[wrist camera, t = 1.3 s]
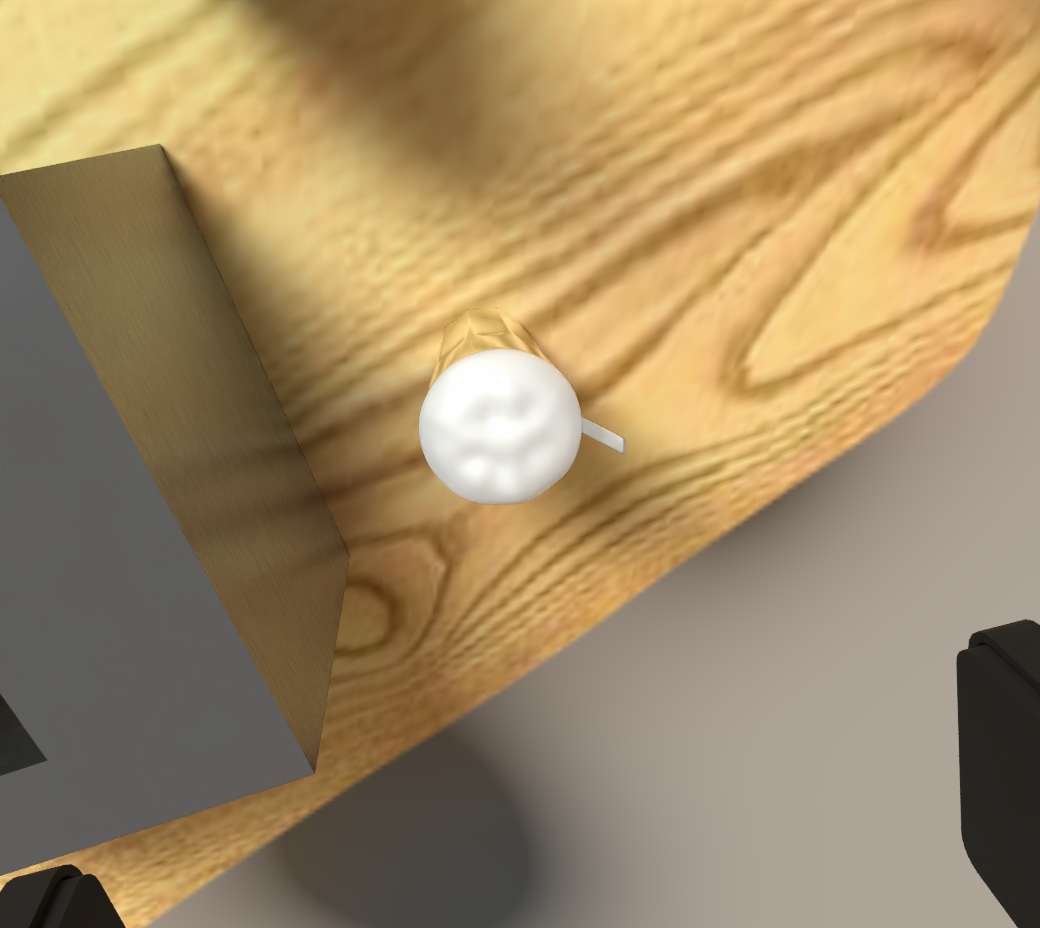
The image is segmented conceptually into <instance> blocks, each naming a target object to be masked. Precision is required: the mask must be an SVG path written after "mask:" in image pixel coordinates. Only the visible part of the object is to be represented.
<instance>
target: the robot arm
mask: <svg viewBox="0 0 1040 928" xmlns="http://www.w3.org/2000/svg"><path fill="white" fill-rule="evenodd" d="M957 696H958V728H959V729H958V730H959V763H960V796H961V797H960V799H961V832H962V840H963V843H964V847H965V849H966V852H967V855H968V857H969V858H970V861H971V863H972V865H973V866H974V868H975V869H976V871H977V873H978V874H979V875H980V877H981V878H982V879H983V881H984V882H985V883H986V885H987V886H988V887H989V889H990V890H991V892H992V893H993V894H994V896H995V897H996V898H997V900H998V901H999V903H1000V904H1001V905H1002V907H1003V908H1004V909H1005V911H1006V912H1007V913H1008V915H1009V916H1010V918H1011V919H1012V920H1013V921H1014V923H1015V924H1016V926H1017V927H1018V928H1040V625H1039V624H1037V623H1035V622H1034V621H1031V620H1026V619H1025V620H1022V621H1017V622H1013V623H1010V624H1006V625H1002V626H998V627H994V628H990V629H986V630H982V631H978V632H976V633H974V634H972V636H971V638H970V639H969V647H968V649H966V650H962V651H960V652H959V653H958V655H957ZM0 928H126V927H125V926H124V924H123V922H122V920H121V919H120V917H119V915H118V913H117V912H116V910H115V908H114V906H113V904H112V903H111V901H110V899H109V897H108V896H107V894H106V892H105V890H104V889H103V887H102V885H101V883H100V882H99V880H98V879H97V878H96V877H95V876H94V875H92V874H86V875H83V874H82V873H81V871H80V870H79V869H78V868H77V867H75V866H73V865H71V864H70V865H62V866H58V867H54V868H51V869H47V870H43V871H39V872H35V873H31V874H27V875H23V876H19V877H15V878H13V879H12V880H10V881H9V882H7V883H6V884H5V886H4V887H3V889H2V890H1V891H0Z"/></svg>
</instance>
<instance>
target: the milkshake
mask: <svg viewBox="0 0 1040 928" xmlns="http://www.w3.org/2000/svg"><path fill="white" fill-rule="evenodd" d="M582 433H584V434H586V435H588V436H590V437H592V438H593V439H595V440H597V441H599V442H601V443H603V444H604V445H606V446H608V447H610V448H612V449H614V450H615V451H617V452H619V453H621V454H625V439H624V438H622V437H621V436H619V435H617V434H615V433H613V432H611V431H609V430H607V429H605V428H603V427H602V426H600V425H598V424H596V423H594V422H592V421H590V420H588V419H586V418H584V417H582V416H581V410H580V406H579V402H578V399H577V396H576V394H575V392H574V390H573V388H572V386H571V385H570V383H569V382H568V380H567V379H566V378H565V377H564V376H563V375H562V374H561V373H560V372H559V370H558V369H557V368H556V367H555V366H554V365H553V364H552V363H551V362H550V361H549V360H548V359H547V358H546V357H545V355H544V354H543V353H542V351H541V350H540V349H539V347H538V346H537V345H536V343H535V342H534V341H533V339H532V338H531V337H530V336H529V334H528V333H527V332H526V330H525V329H524V328H523V326H522V325H521V324H520V323H519V322H517V321H515V320H514V319H512V318H511V317H509V316H507V315H506V314H504V313H503V312H501V311H500V310H498V309H497V308H491V309H474V310H467V311H465V312H464V313H463V314H462V315H461V316H459V317H458V318H457V319H456V320H454V321H453V322H452V323H451V324H449V325H448V326H447V327H446V328H445V330H444V334H443V338H442V342H441V346H440V350H439V354H438V358H437V363H436V367H435V371H434V374H433V376H432V379H431V382H430V384H429V387H428V390H427V393H426V396H425V399H424V403H423V405H422V408H421V412H420V419H419V435H420V442H421V446H422V450H423V453H424V456H425V458H426V460H427V462H428V464H429V466H430V468H431V469H432V471H433V472H434V473H435V475H436V476H437V477H438V478H439V479H440V480H441V481H442V482H443V483H444V484H445V485H446V486H447V487H448V488H449V489H450V490H451V491H452V492H454V493H455V494H457V495H458V496H460V497H462V498H464V499H466V500H468V501H471V502H475V503H479V504H486V505H506V504H519V503H524V502H527V501H530V500H532V499H534V498H536V497H537V496H539V495H540V494H542V493H543V492H544V491H546V490H547V489H548V488H550V487H551V486H552V485H553V484H555V483H556V482H557V481H558V480H560V479H561V478H562V477H563V476H564V475H565V474H566V473H567V471H568V470H569V469H570V467H571V466H572V464H573V462H574V460H575V458H576V455H577V453H578V449H579V446H580V441H581V434H582Z"/></svg>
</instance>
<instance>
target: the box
mask: <svg viewBox="0 0 1040 928" xmlns="http://www.w3.org/2000/svg"><path fill="white" fill-rule="evenodd" d="M349 559H350V555H349V553H348V551H347V549H346V547H345V544H344V542H343V540H342V538H341V536H340V534H339V531H338V529H337V527H336V525H335V523H334V521H333V518H332V516H331V514H330V512H329V510H328V508H327V505H326V503H325V501H324V499H323V497H322V495H321V492H320V490H319V488H318V486H317V484H316V482H315V479H314V477H313V475H312V473H311V471H310V468H309V466H308V464H307V462H306V460H305V458H304V455H303V453H302V451H301V449H300V447H299V445H298V442H297V440H296V438H295V436H294V434H293V432H292V429H291V427H290V425H289V423H288V421H287V419H286V416H285V414H284V412H283V410H282V408H281V406H280V403H279V401H278V399H277V397H276V395H275V393H274V390H273V388H272V386H271V384H270V382H269V380H268V377H267V375H266V373H265V371H264V369H263V367H262V364H261V362H260V360H259V358H258V356H257V354H256V351H255V349H254V347H253V345H252V343H251V341H250V338H249V336H248V334H247V332H246V330H245V328H244V325H243V323H242V321H241V319H240V317H239V314H238V312H237V310H236V308H235V306H234V304H233V301H232V299H231V297H230V295H229V293H228V291H227V288H226V286H225V284H224V282H223V280H222V278H221V275H220V273H219V271H218V269H217V267H216V265H215V262H214V260H213V258H212V256H211V254H210V252H209V249H208V247H207V245H206V243H205V241H204V239H203V236H202V234H201V232H200V230H199V228H198V226H197V223H196V221H195V219H194V217H193V215H192V213H191V210H190V208H189V206H188V204H187V202H186V200H185V197H184V195H183V193H182V191H181V189H180V187H179V184H178V182H177V180H176V178H175V176H174V173H173V171H172V169H171V167H170V165H169V163H168V160H167V158H166V156H165V154H164V152H163V150H162V147H161V145H160V144H156V145H151V146H146V147H141V148H136V149H131V150H126V151H121V152H116V153H111V154H106V155H101V156H96V157H91V158H86V159H81V160H76V161H71V162H66V163H61V164H56V165H50V166H45V167H40V168H35V169H30V170H25V171H20V172H15V173H10V174H5V175H0V876H2V875H5V874H8V873H11V872H14V871H17V870H20V869H23V868H26V867H29V866H32V865H36V864H39V863H42V862H45V861H48V860H51V859H54V858H57V857H60V856H63V855H66V854H69V853H73V852H76V851H79V850H82V849H85V848H88V847H91V846H94V845H97V844H100V843H103V842H106V841H110V840H113V839H116V838H119V837H122V836H125V835H128V834H131V833H134V832H137V831H140V830H143V829H146V828H150V827H153V826H156V825H159V824H162V823H165V822H168V821H171V820H174V819H177V818H180V817H183V816H187V815H190V814H193V813H196V812H199V811H202V810H205V809H208V808H211V807H214V806H217V805H220V804H224V803H227V802H230V801H233V800H236V799H239V798H242V797H245V796H248V795H251V794H254V793H257V792H260V791H264V790H267V789H270V788H273V787H276V786H279V785H282V784H285V783H288V782H291V781H294V780H297V779H301V778H304V777H307V776H310V775H313V774H315V769H316V763H317V757H318V751H319V745H320V738H321V732H322V726H323V720H324V714H325V708H326V701H327V695H328V689H329V683H330V677H331V670H332V664H333V658H334V652H335V646H336V640H337V633H338V627H339V621H340V615H341V609H342V602H343V596H344V590H345V584H346V578H347V572H348V565H349Z"/></svg>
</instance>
